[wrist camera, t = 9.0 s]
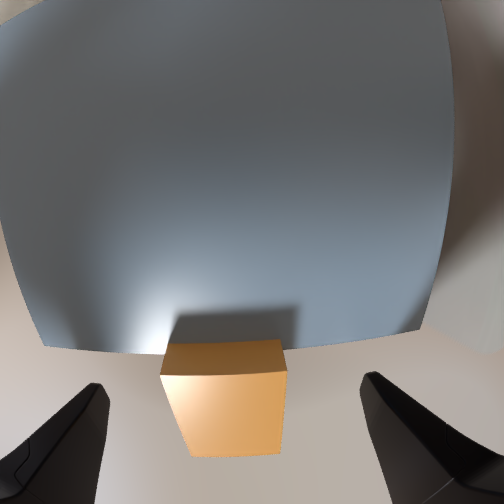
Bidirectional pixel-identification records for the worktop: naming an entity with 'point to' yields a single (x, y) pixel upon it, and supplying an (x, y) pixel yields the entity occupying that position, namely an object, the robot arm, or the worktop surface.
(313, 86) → the lid
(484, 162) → the worktop surface
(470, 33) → the worktop surface
